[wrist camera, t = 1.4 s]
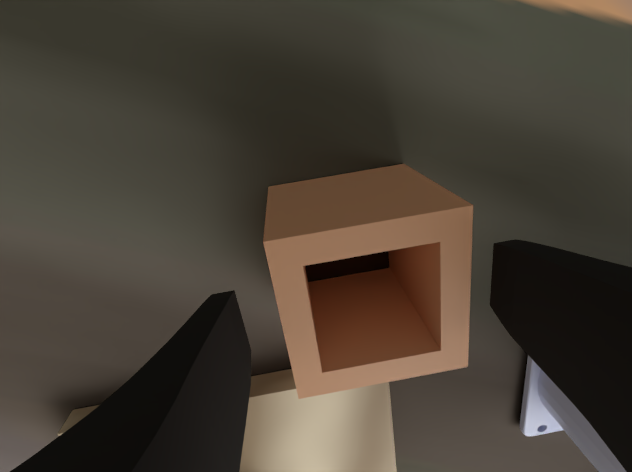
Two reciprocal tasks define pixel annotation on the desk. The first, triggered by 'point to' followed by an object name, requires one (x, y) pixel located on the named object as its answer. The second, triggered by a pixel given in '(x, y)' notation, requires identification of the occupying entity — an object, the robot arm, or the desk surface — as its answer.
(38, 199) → the desk surface
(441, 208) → the square collar
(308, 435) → the post board
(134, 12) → the desk surface
